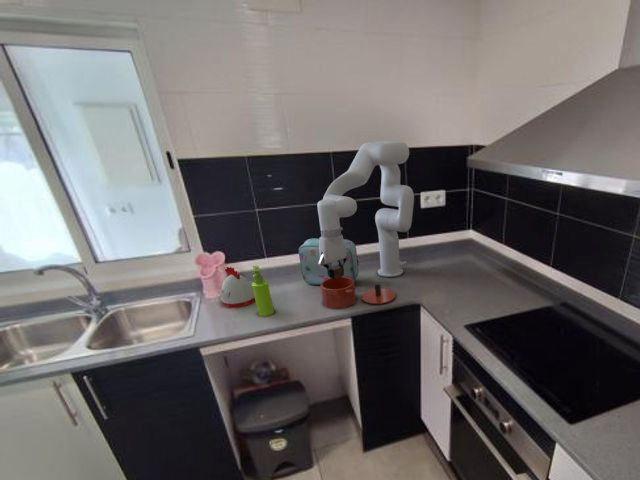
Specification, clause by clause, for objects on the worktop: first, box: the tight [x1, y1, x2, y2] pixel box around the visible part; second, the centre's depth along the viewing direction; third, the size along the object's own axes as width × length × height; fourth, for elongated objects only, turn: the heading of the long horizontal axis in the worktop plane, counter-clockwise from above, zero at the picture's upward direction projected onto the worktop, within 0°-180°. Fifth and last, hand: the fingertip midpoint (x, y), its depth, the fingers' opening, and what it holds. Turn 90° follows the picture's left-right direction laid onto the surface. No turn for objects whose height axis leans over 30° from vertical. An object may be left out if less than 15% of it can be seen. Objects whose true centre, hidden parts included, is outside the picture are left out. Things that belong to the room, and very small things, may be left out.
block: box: [332, 265, 343, 279], centre depth 156 cm, size 4×4×4 cm
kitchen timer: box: [219, 266, 256, 308], centre depth 161 cm, size 14×14×15 cm
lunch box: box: [298, 238, 361, 286], centre depth 175 cm, size 27×10×21 cm, turn 84°
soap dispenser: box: [252, 265, 275, 317], centre depth 149 cm, size 6×7×20 cm
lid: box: [361, 282, 396, 305], centre depth 164 cm, size 15×15×7 cm
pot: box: [320, 277, 357, 310], centre depth 160 cm, size 14×19×8 cm
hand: (336, 275), depth 157 cm, fingers closed on block, 4 cm apart
